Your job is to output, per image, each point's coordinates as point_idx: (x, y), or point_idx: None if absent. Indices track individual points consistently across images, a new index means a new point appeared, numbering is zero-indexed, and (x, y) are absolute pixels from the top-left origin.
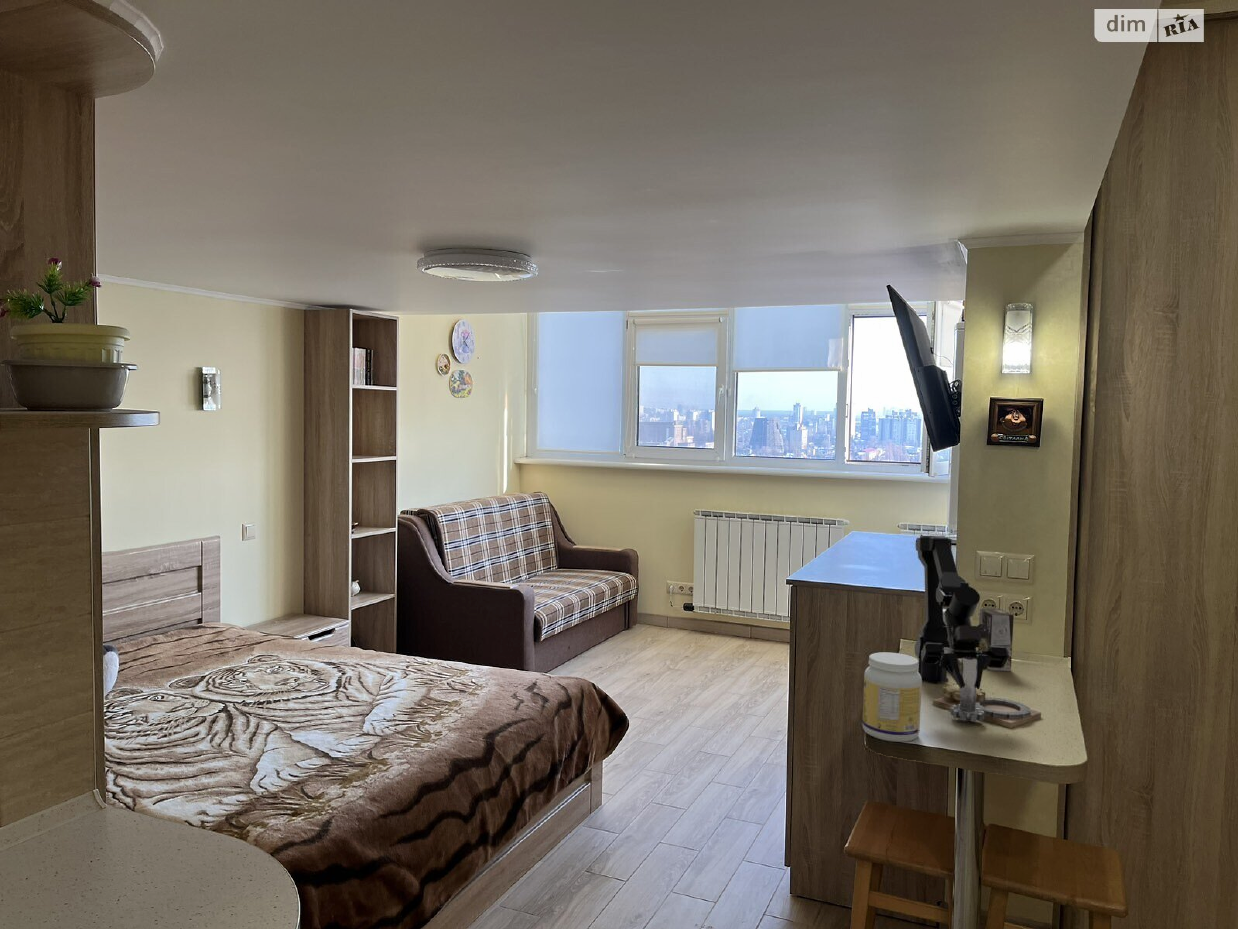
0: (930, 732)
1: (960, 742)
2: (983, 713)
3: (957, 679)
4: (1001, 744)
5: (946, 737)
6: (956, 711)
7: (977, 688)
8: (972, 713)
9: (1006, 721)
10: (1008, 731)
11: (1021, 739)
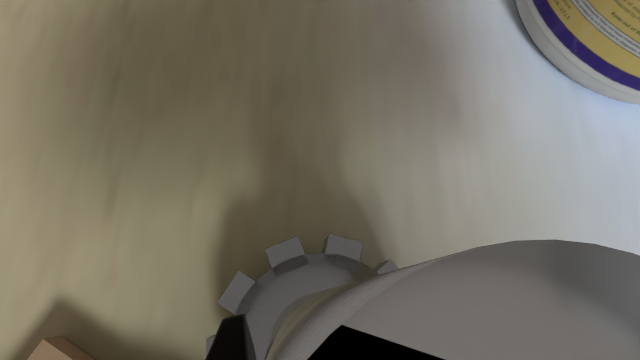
0: (473, 85)
1: (342, 7)
2: (213, 337)
3: None
4: (163, 44)
5: (402, 47)
6: (390, 269)
7: (250, 338)
8: (289, 270)
9: (67, 357)
10: (88, 265)
11: (43, 154)
